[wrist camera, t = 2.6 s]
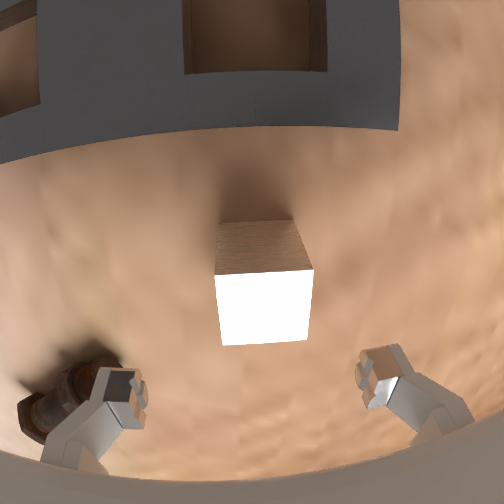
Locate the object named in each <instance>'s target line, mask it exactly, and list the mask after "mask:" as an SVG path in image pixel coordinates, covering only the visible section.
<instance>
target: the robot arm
mask: <svg viewBox="0 0 504 504" xmlns="http://www.w3.org/2000/svg"><path fill="white" fill-rule="evenodd" d="M359 359H360V362H359V363H358V364H357V365H356V369H355V379H356V383H357V386H358V388H359V389H361V390H362V391H364V392H363V394H362V399H363V401H364V404H365V406H366V409H367V410H369V409H374V408H378V407H383V406H387V408H389V409H390V410H391V411H392V412H393V413H395V414H396V415H397V416H398V417H399V418H401V419H402V420H403V421H404V422H405V423H407V424H408V425H409V426H410V427H412V428H413V429H414V430H415V431H416V432H418V433H417V434H416V435H415V437H414V438H413V440H412V441H411V443H410V446H411V447H409V448H406V449H403V450H400V451H396V452H393V453H390V454H386V455H383V456H379V457H375V458H372V459H368V460H364V461H360V462H356V463H351V464H347V465H343V466H338V467H333V468H328V469H323V470H317V471H311V472H305V473H299V474H292V475H284V476H276V477H267V478H257V479H244V480H225V481H170V480H152V479H139V478H129V477H120V476H112V475H108V471H107V470H106V468H105V467H104V466H103V465H102V464H101V463H100V462H99V459H100V458H101V457H102V456H103V454H104V453H105V452H106V451H107V450H108V448H109V447H110V446H111V445H112V443H113V442H114V441H115V440H116V438H117V437H118V436H119V435H120V433H121V432H122V431H123V429H144V425H145V418H146V414H145V412H144V410H143V409H144V408H145V407H146V406H147V404H148V390H147V386H146V384H145V382H144V381H142V380H141V377H142V374H141V372H140V370H139V369H133V368H110V367H101V368H100V369H99V370H98V373H97V377H96V380H95V383H94V386H93V390H92V393H91V396H90V400H86V401H85V402H84V403H82V404H81V405H80V406H79V407H78V408H77V409H76V410H75V411H74V412H72V413H71V414H70V415H69V416H68V417H67V418H66V419H65V420H64V421H62V422H61V423H60V424H59V425H58V426H57V427H56V428H55V429H53V430H52V431H51V432H50V433H49V434H48V435H47V439H46V442H45V445H44V449H43V452H42V456H41V459H40V461H36V460H32V459H28V458H25V457H21V456H18V455H15V454H12V453H9V452H5V451H2V450H0V504H504V408H502V409H500V410H498V411H496V412H494V413H492V414H490V415H488V416H486V417H484V418H482V419H480V420H477V421H475V420H474V418H473V416H472V414H471V412H470V411H469V409H468V407H467V405H466V403H465V402H464V400H463V398H461V397H460V396H458V395H456V394H454V393H453V392H451V391H449V390H448V389H446V388H444V387H443V386H441V385H439V384H438V383H436V382H434V381H432V380H431V379H429V378H427V377H426V376H424V375H422V374H421V373H419V372H417V373H415V371H414V369H413V368H412V366H411V364H410V362H409V361H408V359H407V357H406V355H405V354H404V352H403V350H402V348H401V347H400V345H399V344H392V345H387V346H381V347H376V348H371V349H365V350H362V351H361V352H360V354H359Z"/></svg>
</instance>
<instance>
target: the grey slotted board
mask: <svg viewBox="0 0 504 504" xmlns="http://www.w3.org/2000/svg"><path fill="white" fill-rule="evenodd" d="M308 1H309V27H310V71H282V70H260V71H229V72H213V73H200V74H193V57H192V30H191V0H0V31H2V30H4V29H6V28H8V27H10V26H12V25H14V24H17V23H19V22H21V21H23V20H25V19H28V18H30V17H32V16H34V15H37V65H38V81H39V92H40V102H41V104H39V105H36V106H33V107H29V108H26V109H23V110H20V111H18V112H15V113H12V114H9V115H6V116H4V117H1V118H0V164H3V163H6V162H10V161H14V160H17V159H21V158H25V157H29V156H33V155H37V154H42V153H46V152H50V151H55V150H60V149H64V148H69V147H74V146H79V145H85V144H90V143H96V142H101V141H107V140H114V139H120V138H127V137H134V136H141V135H149V134H157V133H166V132H176V131H186V130H198V129H211V128H228V127H250V126H332V127H354V128H370V129H383V130H395V131H398V123H399V107H400V79H401V38H400V12H399V0H308Z"/></svg>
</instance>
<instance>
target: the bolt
mask: <svg viewBox="0 0 504 504" xmlns="http://www.w3.org/2000/svg"><path fill="white" fill-rule="evenodd" d="M101 367H110V368H123V367H122V366H121V365H120V364H119V363H118V362H117V361H115V360H114V359H113V358H111V357H109V356H98V357H97V358H95V359H94V360H93V361H91V362H90V363H89V364H88V365H87V364H84V363H81V362H80V363H78V364H76V365H74V366H72V367H70V368H69V369H67V370H65V371H64V372H62V373H61V374H59V375H58V376H57V388H56V389H54V390H53V391H51V392H50V393H49V394H47V395H46V396H44V395H42V394H41V393H40V392H36V393H35V394H33V395H31V396H29V397H27V398H25V399H23V400H22V401H20V402H19V403H18V404H17V410H18V419H19V424H20V427H21V430H22V432H23V433H25V434H26V435H27V436H28V437H30V438H31V439H33V440H34V441H36V442H38V443H40V444H42V445H45V442H46V439H47V435H48V434H49V433H50V432H51V431H52V430H53V429H55V428H56V427H57V426H58V425H59V424H60V423H61V422H62V421H64V420H65V419H66V418H67V417H68V416H69V415H70V414H71V413H72V412H74V411H75V410H76V409H77V408H78V407H79V406H80V405H81V404H82V403H84V402H85V401H86V400H90V396H91V393H92V390H93V386H94V383H95V380H96V377H97V373H98V370H99V369H100V368H101Z"/></svg>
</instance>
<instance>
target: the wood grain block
mask: <svg viewBox="0 0 504 504" xmlns="http://www.w3.org/2000/svg"><path fill="white" fill-rule="evenodd" d="M215 282H216V291H217V300H218V309H219V317H220V325H221V333H222V341H223V345H234V344H253V343H268V342H282V341H294V340H305V339H307V331H308V322H309V313H310V303H311V293H312V282H313V267H312V265H311V262H310V260H309V257H308V255H307V252H306V250H305V247H304V245H303V242H302V240H301V237H300V235H299V232H298V230H297V227H296V225H295V222H294V220H274V221H253V222H234V223H219V226H218V239H217V252H216V265H215Z"/></svg>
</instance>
